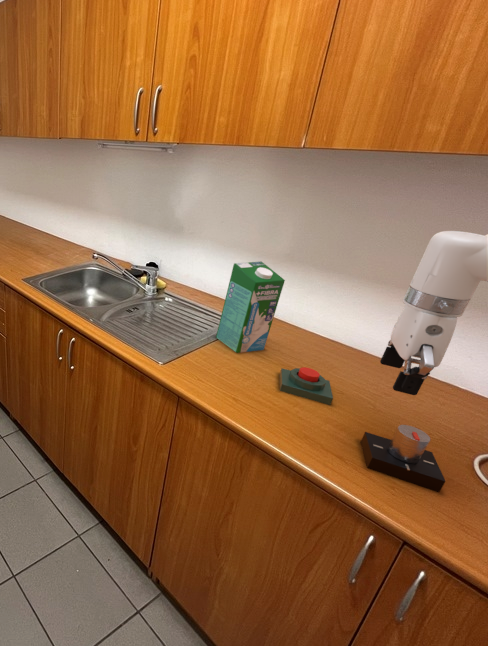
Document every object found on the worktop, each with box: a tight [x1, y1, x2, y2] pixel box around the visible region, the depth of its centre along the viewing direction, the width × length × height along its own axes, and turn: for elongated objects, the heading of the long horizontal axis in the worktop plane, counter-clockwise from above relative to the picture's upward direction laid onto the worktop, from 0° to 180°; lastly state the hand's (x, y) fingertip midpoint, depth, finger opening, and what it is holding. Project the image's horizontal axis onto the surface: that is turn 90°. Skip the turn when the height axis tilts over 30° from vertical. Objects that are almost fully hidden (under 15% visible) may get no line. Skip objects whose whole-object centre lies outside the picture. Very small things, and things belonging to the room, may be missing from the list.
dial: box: [387, 424, 431, 464], centre depth 76 cm, size 4×4×6 cm
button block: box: [278, 367, 334, 406], centre depth 99 cm, size 10×8×4 cm
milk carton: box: [215, 261, 286, 354], centre depth 115 cm, size 9×9×25 cm
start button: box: [298, 366, 321, 382], centre depth 98 cm, size 4×4×2 cm
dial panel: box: [359, 431, 446, 493], centre depth 78 cm, size 10×9×3 cm
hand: (396, 378), depth 78 cm, fingers open, 9 cm apart
